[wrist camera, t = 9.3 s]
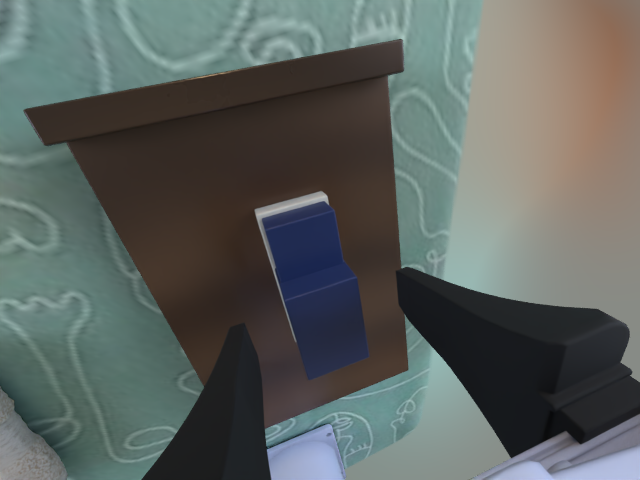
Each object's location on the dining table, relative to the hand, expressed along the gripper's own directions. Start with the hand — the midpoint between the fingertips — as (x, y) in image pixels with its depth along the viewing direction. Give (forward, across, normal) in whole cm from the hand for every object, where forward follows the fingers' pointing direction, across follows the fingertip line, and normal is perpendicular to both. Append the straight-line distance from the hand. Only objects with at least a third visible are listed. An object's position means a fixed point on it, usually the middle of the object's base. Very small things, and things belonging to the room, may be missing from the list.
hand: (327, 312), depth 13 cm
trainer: (+4, 0, 0) cm, 4 cm away
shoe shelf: (+7, +1, +1) cm, 7 cm away
